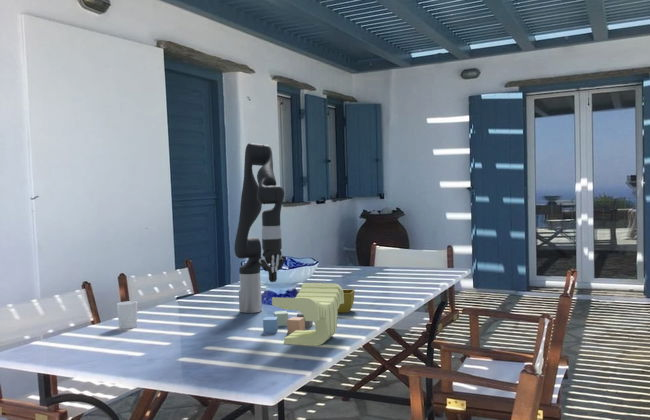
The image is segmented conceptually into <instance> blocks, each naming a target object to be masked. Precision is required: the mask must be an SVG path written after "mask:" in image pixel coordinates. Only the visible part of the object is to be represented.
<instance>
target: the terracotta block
mask: <svg viewBox="0 0 650 420" xmlns="http://www.w3.org/2000/svg"><path fill="white" fill-rule="evenodd" d="M286 327H287V334H291V333H293V332H294V331H296V330H306V327H305V319H304V317H297V316H292V317H290V318H289V317H288V320H287V326H286Z"/></svg>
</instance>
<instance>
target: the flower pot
mask: <svg viewBox="0 0 650 420" xmlns="http://www.w3.org/2000/svg"><path fill="white" fill-rule="evenodd" d="M342 289H343V293H344V304H343V303H342V304H340V306H339V308H338V309H337V312H338V314H339V313H341V314H342V313H344V314H346V313H350V312H351V310H352V309H353V305H354V302H355V289H344V288H342Z"/></svg>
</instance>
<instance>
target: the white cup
mask: <svg viewBox="0 0 650 420" xmlns="http://www.w3.org/2000/svg"><path fill="white" fill-rule="evenodd" d="M116 308H117V309H116V311H117V319H118V323H119V325H118V327H119V329H120V330H121V329H122V330H129V329H134V328H136V327H138V325H137V324H138V323H137V322H138V301H137V300H129V301H128V300H126V301H120V302H118V303H116Z"/></svg>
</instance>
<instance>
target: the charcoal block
mask: <svg viewBox="0 0 650 420" xmlns="http://www.w3.org/2000/svg"><path fill="white" fill-rule="evenodd" d="M296 317H304V315H303V314H302V313H301V312H300V311H298V313H297V314H296ZM304 319H305V318H304ZM313 325H314V321H305V328H311V326H313Z"/></svg>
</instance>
